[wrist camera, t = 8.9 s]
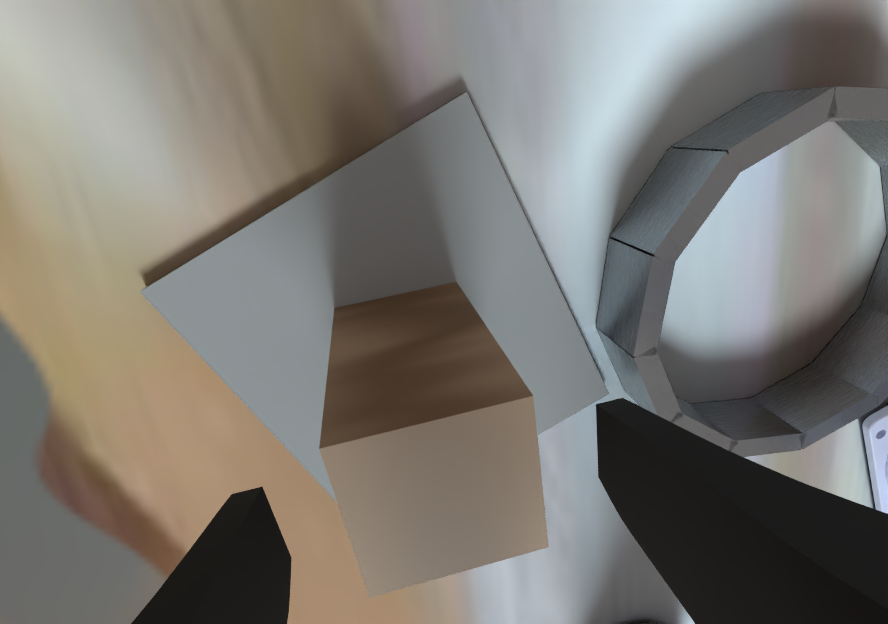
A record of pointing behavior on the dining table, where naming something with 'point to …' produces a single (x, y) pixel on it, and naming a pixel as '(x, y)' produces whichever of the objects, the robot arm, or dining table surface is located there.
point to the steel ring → (674, 225)
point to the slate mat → (378, 278)
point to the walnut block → (428, 440)
